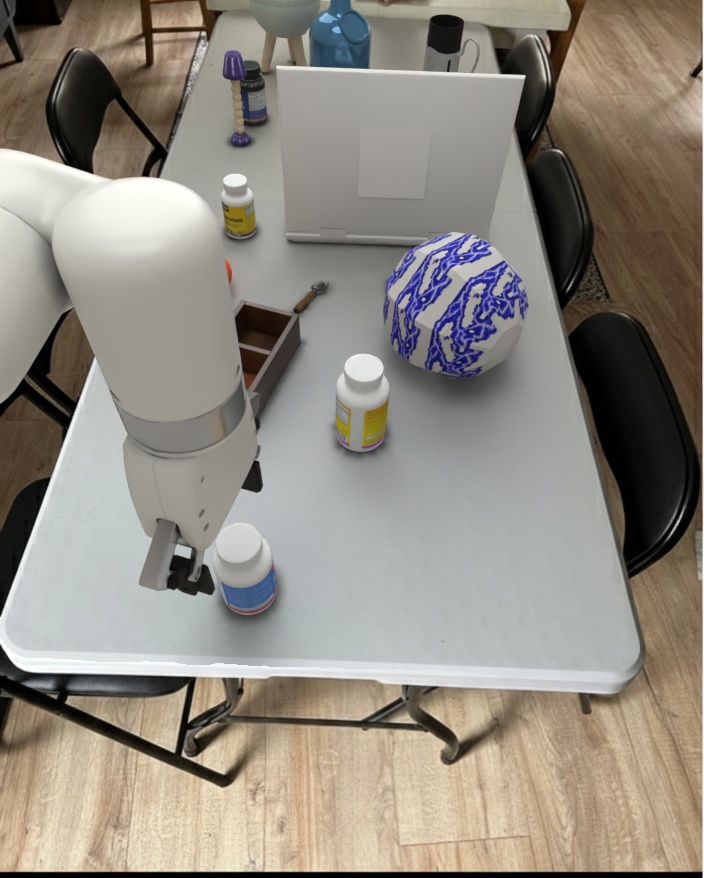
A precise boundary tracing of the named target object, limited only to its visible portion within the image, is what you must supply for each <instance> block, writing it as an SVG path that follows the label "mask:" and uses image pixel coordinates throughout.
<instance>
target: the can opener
mask: <svg viewBox="0 0 704 878" xmlns="http://www.w3.org/2000/svg"><path fill="white" fill-rule="evenodd" d="M315 286H316V284H312V285H311V286H310V289H311V291H308V293H307V294H306V295H305V296H304V298H302V299H301V300H300V301H299V302H298V303H297V304H296V305H295V306H294V307H293V308H292V311H293V312H292V313H295V314H299V313H300V312H302V311H303V309H305V308H306V307H307V306H308V304H309V303H310V301H312V300H313V299H314V298H315V297H316V295H317V294H323V293H326V292H327V291H328V290H329V287H330V284H329V282H327V283H326V282H325V281H323V280H321V281H320V282H319V283H318V285H317V286H316V287H315Z"/></svg>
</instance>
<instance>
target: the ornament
mask: <svg viewBox="0 0 704 878" xmlns="http://www.w3.org/2000/svg"><path fill="white" fill-rule="evenodd" d="M528 310H529V300H528V294H527V287H526V283H525V282H524V281H523V279H522V278H521V276H520V274H519V273H518V272H517V270H516V269H515V268H514V267H513V265H512V264H511V263H510V262H509V261H508V259H506V258H505V256H504V255H503V254H502V253H501V252H500V251H499V250H498V249H497V248H496V247H495V246H493V245H492V244H490V243H488V241H487V242H485V241H484V240H482V239H480V238H479V237H477V236H476V235H471V234H464V233H457V232H452V233H448V234H445V235H442V236H439V237H435V238H432V239H430V240H428V241H427V242H425V243H423V244H421V245H419V246H415V247H413V248H411V249H409V250H407V251H406V252H405V254H404V255H403V257H402V258H401V260H400V261H399V262H398V264H397V265H396V267H395V269H393V272H392V273H391V275H390V276H389V277H388V279H387V280H386V281H385V287H384V298H383V309H382V313H383V327H384V333H385V335H386V337H387V339H388V340H389V342H390V344H391V346H392V348H393V351H395V352H396V353H397V354H398V355H400V356H401V357H402V358H403V359H404V360H406V361H407V362H408V363H410V364H411V365H413V366H415V367H417V368H420V369H423V370H425V371H428V372H430V373H432V374H435V375H438V376H440V377H445V378H447V379H451V380H464V379H474V378H476V377H478V376H479V375H481V374H483V373H485V372H487V371H489V370H491V369H492V368H494V367H495V366H497V365H498V364H500V363H502V362H503V361H504V360H506V359H507V358H508V357H509V356H510V354H511V352H513V350H514V349H515V347H517V345H518V343H519V341H520V338H521V336H522V332H523V330H524V327H525V321H526V318H527V314H528Z"/></svg>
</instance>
